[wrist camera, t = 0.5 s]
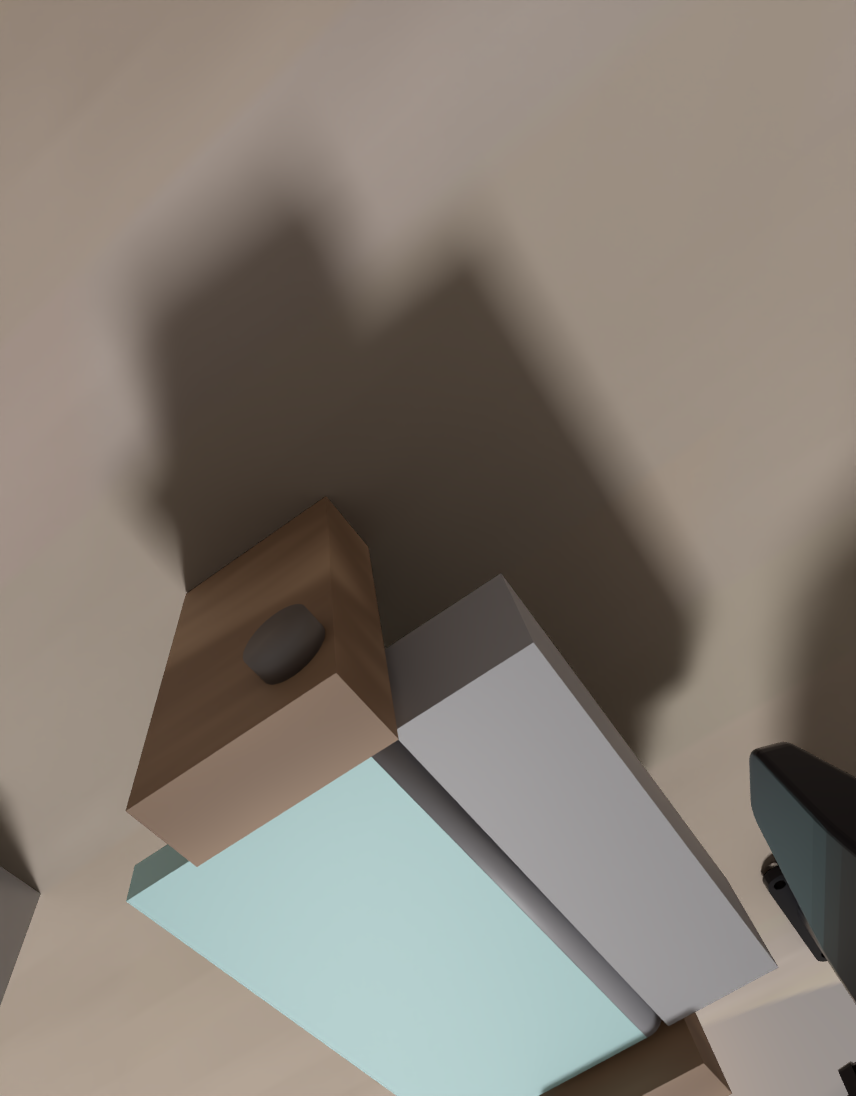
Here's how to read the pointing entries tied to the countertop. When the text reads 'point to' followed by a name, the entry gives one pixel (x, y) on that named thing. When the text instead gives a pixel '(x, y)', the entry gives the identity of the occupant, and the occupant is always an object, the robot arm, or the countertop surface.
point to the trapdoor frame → (312, 733)
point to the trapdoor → (472, 881)
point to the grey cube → (13, 922)
